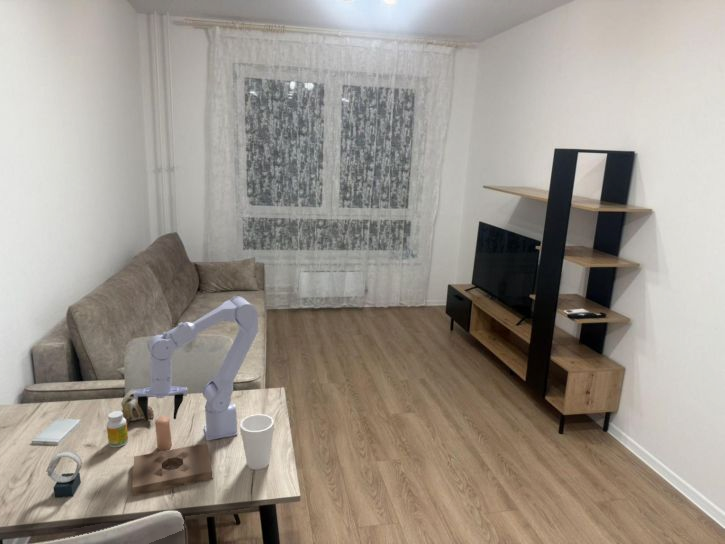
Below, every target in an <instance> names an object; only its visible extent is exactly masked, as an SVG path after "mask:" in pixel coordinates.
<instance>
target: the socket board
mask: <svg viewBox="0 0 725 544" xmlns="http://www.w3.org/2000/svg"><path fill="white" fill-rule="evenodd" d="M171 466H179V467H178V468H174V469H170V470H168V469H167V468H169V467H171ZM210 480H213V468H212V461H211V455H210V451H209V444H208V442H205V443H199V444H195V445H189V446H184V447H179V448H178V447H177V448H174V449H169V450H166V451H157V452H151V453H146V454H140V455H135V456H133V470H132V482H131V483H132V484H131V485H132V487H131V489H132V496H133V497H134V496H138V495H144V494H148V493H152V492H157V491H162V490H165V489H166V490H167V489H172V488H177V487H181V486H186V485H187V486H188V485H191V484H196V483H200V482H204V481H206V482H207V481H210Z"/></svg>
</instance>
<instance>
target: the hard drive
mask: <svg viewBox="0 0 725 544" xmlns="http://www.w3.org/2000/svg"><path fill="white" fill-rule="evenodd" d="M82 423H83V421H82V419H76V418H75V419H74V418H56V419H55V420H54V421H53V422H51V424H50V425H48V426H47V427H46V428H45V429H44V430H43V431H41V432H40V433H39V434H38V435H37V436H36V437H34V438H33V440H31V444H34V445H54V446H55V445H56V446H59V445H60V444H61V443H62V442H63V441H64V440H65V439H66V438H67V437H68V436H69V435H70V434H71V433H72V432H74V431H75V430H76V429H77V428H78V427H79V426H80V425H81V424H82Z"/></svg>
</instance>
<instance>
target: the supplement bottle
mask: <svg viewBox="0 0 725 544" xmlns="http://www.w3.org/2000/svg"><path fill="white" fill-rule="evenodd" d="M107 419H108V421H107V422H106V431H107V441H108V442H107V443H108V445H109V447H111V448H120V447H123V446H124V445H126V444H127V443H128V442H129V434H128V424H127V423H126V419H125V418H124V417H123V412H122V410H114V411H112V412H110V413H108V415H107Z"/></svg>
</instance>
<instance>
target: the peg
mask: <svg viewBox="0 0 725 544" xmlns="http://www.w3.org/2000/svg"><path fill="white" fill-rule="evenodd" d="M154 424H155V434H156V435H155V436H156V445H157V450H158V452H161V451H167V450H171V448H172V446H173V443H172V432H171V420H170V417H168V416H161V417H159V418H158V417H157V418H156V419H155V421H154Z"/></svg>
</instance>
